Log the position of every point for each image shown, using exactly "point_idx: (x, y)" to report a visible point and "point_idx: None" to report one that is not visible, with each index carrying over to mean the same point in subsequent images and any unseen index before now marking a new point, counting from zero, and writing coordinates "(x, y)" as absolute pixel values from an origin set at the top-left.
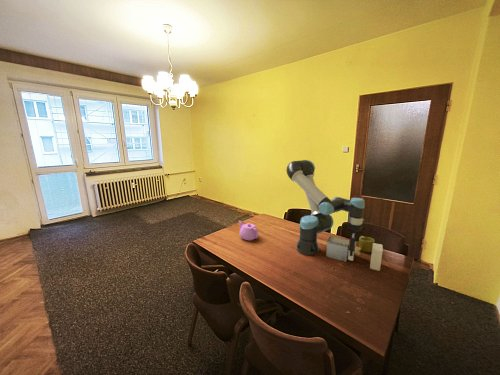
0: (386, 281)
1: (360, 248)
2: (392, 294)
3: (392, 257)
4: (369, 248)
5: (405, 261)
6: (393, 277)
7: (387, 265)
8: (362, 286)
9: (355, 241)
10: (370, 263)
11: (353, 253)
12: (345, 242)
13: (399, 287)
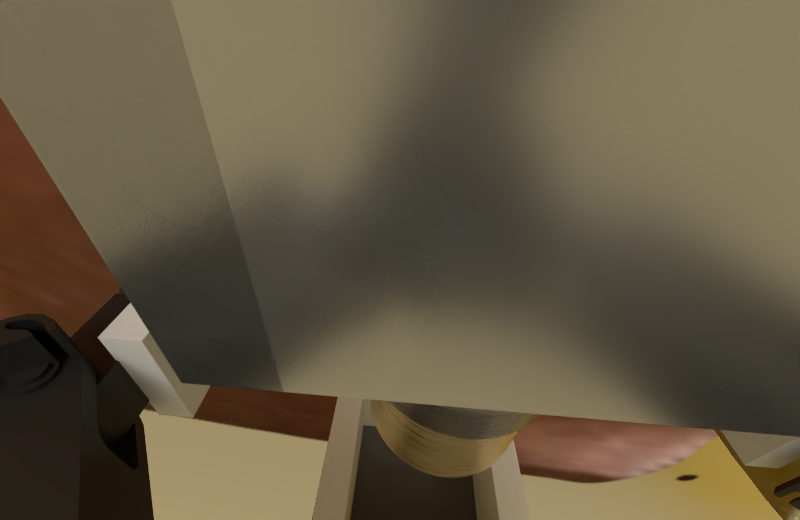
0: (242, 390)
1: (421, 469)
2: None
3: (597, 443)
4: None
5: (554, 472)
6: (321, 417)
7: None
8: (9, 274)
9: (790, 459)
10: None
11: None
12: (528, 308)
13: (233, 421)
